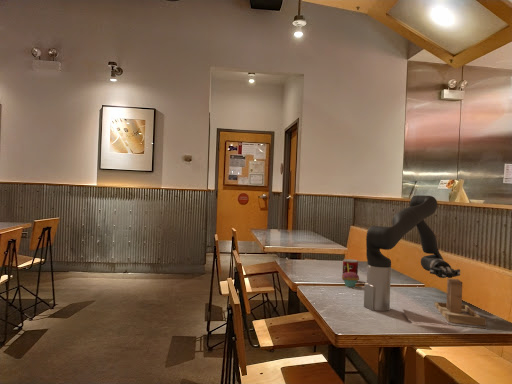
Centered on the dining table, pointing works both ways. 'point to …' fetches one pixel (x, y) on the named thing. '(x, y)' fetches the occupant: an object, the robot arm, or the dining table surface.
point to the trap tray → (461, 316)
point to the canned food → (350, 266)
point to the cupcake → (350, 278)
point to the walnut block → (454, 295)
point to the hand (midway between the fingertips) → (450, 275)
